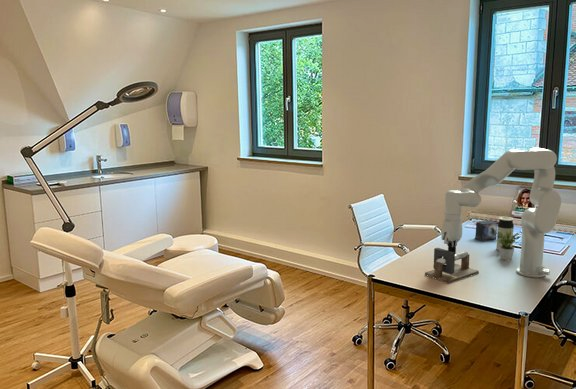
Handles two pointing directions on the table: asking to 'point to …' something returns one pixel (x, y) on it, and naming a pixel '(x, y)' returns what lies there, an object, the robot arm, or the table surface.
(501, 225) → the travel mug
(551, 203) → the robot arm
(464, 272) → the pipe stand
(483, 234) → the small box
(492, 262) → the table surface
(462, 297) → the table surface
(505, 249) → the house plant
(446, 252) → the grey flat upright plate
